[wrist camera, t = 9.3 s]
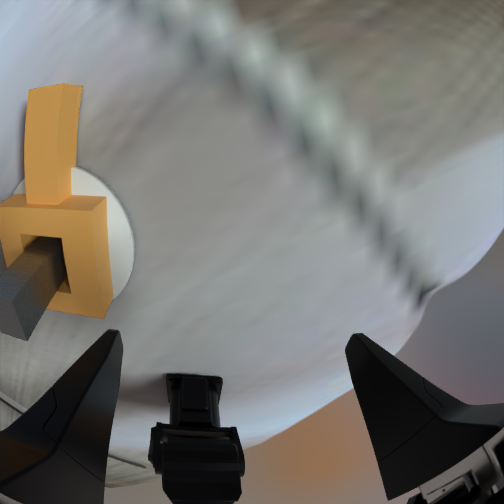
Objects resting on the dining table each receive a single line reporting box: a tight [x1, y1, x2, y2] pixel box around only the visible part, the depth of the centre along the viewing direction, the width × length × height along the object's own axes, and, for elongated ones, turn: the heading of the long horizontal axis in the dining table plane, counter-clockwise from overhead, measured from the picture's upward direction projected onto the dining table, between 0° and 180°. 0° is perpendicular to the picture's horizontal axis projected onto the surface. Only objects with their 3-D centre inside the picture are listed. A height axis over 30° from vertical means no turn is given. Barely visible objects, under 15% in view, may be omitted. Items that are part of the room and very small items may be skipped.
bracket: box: [0, 84, 135, 319], centre depth 16 cm, size 19×13×4 cm
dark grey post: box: [0, 236, 67, 341], centre depth 14 cm, size 3×2×9 cm
